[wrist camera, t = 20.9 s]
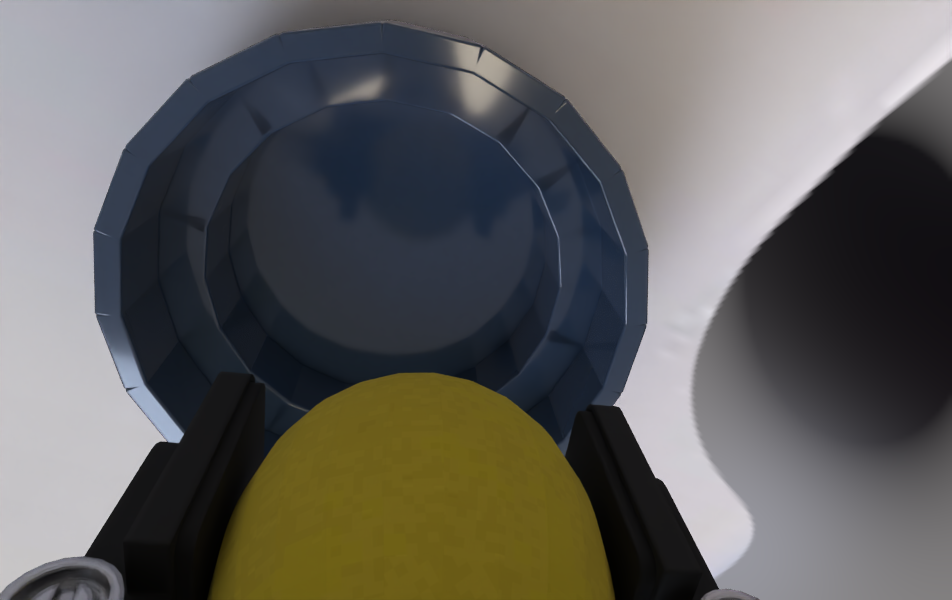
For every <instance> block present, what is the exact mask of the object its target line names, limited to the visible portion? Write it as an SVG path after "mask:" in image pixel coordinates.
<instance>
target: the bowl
mask: <svg viewBox="0 0 952 600" xmlns="http://www.w3.org/2000/svg"><path fill="white" fill-rule="evenodd" d="M94 230H95V231H94V232H93V242H94V286H95V313H96V314H97V315H96V316H97V320H98V322H99V325H100V327H101V330H102V333H103V335H104V338H105V340H106V343H107V345H108V348H109V350H110V353H111V356H112V358H113V361H114V363H115V366H116V368H117V371H118V373H119V376H120V379H121V381H122V384H123V386H124V388H125V389H126V392H127V393H128V394H129V395H130V397H131V398H132V399H133V400H134V402H135V403H136V404H137V405H138V406H139V408H140V409H141V410H142V411H143V413H144V414H145V415H146V416H147V417H148V419H149V420H150V421H151V422H152V424H153V425H154V426H155V427H156V428H157V430H158V431H159V432H160V433H161V435H162V436H163V437H164V438H165V439H166V441H167V442H173V443H179V442H180V440H181V438H182V437H183V435H184V433H185V431H186V430H187V428H188V426H189V424H190V423H191V421H192V419H193V417H194V416H195V414H196V412H197V410H198V409H199V407H200V405H201V404H202V402H203V400H204V398H205V397H206V395H207V393H208V391H209V390H210V388H211V386H212V384H213V383H214V381H215V379H216V377H217V376H218V374H219V373H220V372H222V371H223V372H234V373H245V374H253V375H254V377H255V383H264V384H265V431H264V459H265V458H266V456H267V455H268V453H269V452H270V450H271V449H272V447H273V446H274V445H275V443H276V442H277V441H278V440H279V438H280V437H281V436H282V435H283V434H284V433H285V432H286V431H287V430H288V429H289V428H290V427H292V426H293V425H294V424H295V423H296V422H297V421H299V420H300V419H301V418H302V417H303V416H305V415H306V414H307V413H308V412H309V411H310V410H312V409H313V408H314V407H315V406H316V405H318V404H319V403H320V402H322V401H323V400H325V399H326V398H328V397H331V396H333V395H335V394H337V393H339V392H341V391H343V390H345V389H347V388H349V387H351V386H353V385H355V384H357V383H360V382H363V381H367V380H371V379H376V378H380V377H384V376H388V375H393V374H397V373H438V374H443V375H448V376H452V377H457V378H462V379H466V380H470V381H473V382H475V383H477V384H480V385H482V386H484V387H486V388H488V389H490V390H492V391H494V392H496V393H499V394H501V395H503V396H505V397H507V398H508V399H509V400H511V401H512V402H513V403H515V404H516V405H517V406H518V407H519V408H521V409H522V410H523V411H524V412H525V413H527V414H528V415H529V416H530V417H531V418H533V419H534V420H535V421H536V422H537V423H539V424H540V425H541V426H542V427H543V428H544V429H545V430H546V431H547V433H548V434H549V435H550V436H551V437H552V439H553V440H554V442H555V443H556V445H557V446H558V448H559V449H560V451H561V452H562V454H563V455H564V457H565V454H566V451H567V447H568V443H569V439H570V435H571V431H572V427H573V423H574V419H575V416H576V414H577V412H578V411H585V410H586V408H587V406H588V405H590V404H594V405H605V406H613V405H614V403H615V402H616V401H617V399H618V398H619V397H620V395H621V393H622V392H623V390H624V387H625V384H626V381H627V379H628V376H629V373H630V370H631V368H632V365H633V362H634V359H635V357H636V354H637V351H638V348H639V346H640V343H641V340H642V337H643V335H644V332H645V329H646V324H647V306H648V255H649V250H648V244H647V241H646V238H645V235H644V232H643V229H642V226H641V223H640V220H639V217H638V214H637V211H636V208H635V205H634V202H633V199H632V196H631V193H630V190H629V187H628V184H627V181H626V178H625V175H624V172H623V171H622V170H621V167H620V165H619V164H618V163H617V161H616V160H615V159H614V157H613V156H612V155H611V154H610V152H609V151H608V150H607V149H606V147H605V146H604V145H603V144H602V142H601V141H600V140H599V138H598V137H597V136H596V135H595V133H594V132H593V131H592V130H591V128H590V127H589V126H588V124H587V123H586V122H585V121H584V119H583V118H582V117H581V116H580V114H579V113H578V112H577V111H576V109H575V108H574V107H573V105H572V104H571V103H570V102H569V100H567V99H565V97H564V96H563V95H561V94H560V93H558V92H557V91H555V90H554V89H552V88H550V87H549V86H547V85H546V84H544V83H542V82H541V81H539V80H538V79H536V78H535V77H533V76H531V75H530V74H528V73H527V72H525V71H524V70H522V69H520V68H519V67H517V66H516V65H514V64H513V63H511V62H509V61H508V60H506V59H505V58H503V57H501V56H500V55H498V54H497V53H495V52H494V51H492V50H490V49H489V48H487V47H486V46H484V45H482V44H480V43H478V42H476V41H474V40H472V39H469V38H467V37H465V36H460V35H456V34H452V33H448V32H443V31H439V30H435V29H431V28H426V27H422V26H418V25H414V24H410V23H405V22H401V21H397V20H381V21H372V22H363V23H353V24H344V25H335V26H325V27H316V28H309V29H301V30H294V31H287V32H282V33H280V34H275V35H273V36H271V37H269V38H267V39H265V40H263V41H261V42H259V43H257V44H254V45H252V46H250V47H248V48H246V49H244V50H242V51H240V52H238V53H236V54H234V55H232V56H230V57H228V58H226V59H224V60H222V61H220V62H218V63H216V64H214V65H212V66H210V67H208V68H206V69H204V70H202V71H200V72H198V73H196V74H194V75H192V76H191V77H190V78H189V79H186V80H185V81H184V82H183V83H182V84H181V86H180V87H179V88H178V89H177V90H176V91H175V92H174V93H173V94H172V95H171V96H170V98H169V99H168V100H167V101H166V102H165V103H164V104H163V105H162V106H161V107H160V109H159V110H158V111H157V112H156V113H155V114H154V115H153V116H152V117H151V118H150V119H149V121H148V122H147V123H146V124H145V125H144V126H143V127H142V128H141V129H140V130H139V132H138V133H137V134H136V135H135V136H134V137H133V138H132V139H131V140H130V141H129V142H128V144H127V145H126V147H125V149H124V150H123V152H122V154H121V157H120V160H119V163H118V165H117V168H116V171H115V173H114V176H113V179H112V181H111V184H110V187H109V189H108V192H107V195H106V198H105V200H104V203H103V206H102V208H101V211H100V214H99V216H98V219H97V222H96V224H95V227H94Z"/></svg>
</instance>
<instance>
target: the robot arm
mask: <svg viewBox="0 0 952 600" xmlns="http://www.w3.org/2000/svg"><path fill="white" fill-rule="evenodd" d="M264 431H265V384H264V383H255V377H254V375H253V374H245V373H234V372H223V371H222V372H220V373H219V374H218V376H217V377H216V379H215V381H214V383H213V384H212V386H211V388H210V390H209V391H208V393H207V395H206V397H205V398H204V400H203V402H202V404H201V405H200V407H199V409H198V410H197V412H196V414H195V416H194V417H193V419H192V421H191V423H190V424H189V426H188V428H187V430H186V431H185V433H184V435H183V437H182V438H181V440H180V442H179V443H173V442H159V443H156V444H155V446H154V447H153V448H152V449H151V451H150V453H149V454H148V456H147V457H146V459H145V461H144V462H143V464H142V465H141V467H140V469H139V470H138V472H137V473H136V475H135V476H134V478H133V480H132V481H131V483H130V484H129V486H128V488H127V489H126V491H125V492H124V494H123V496H122V497H121V499H120V500H119V502H118V504H117V505H116V507H115V508H114V510H113V512H112V513H111V515H110V516H109V518H108V520H107V521H106V523H105V524H104V526H103V527H102V529H101V531H100V532H99V534H98V535H97V537H96V539H95V540H94V542H93V543H92V545H91V547H90V548H89V550H88V551H87V553H86V555H85V556H83V557H71V558H63V559H60V560H56V561H52V562H49V563H45V564H43V565H41V566H39V567H37V568H35V569H32V570H30V571H28V572H26V573H24V574H23V575H22V576H20V577H19V578H17V579H16V580H15V581H13V582H12V583H10V584H9V585H8V586H7V587H6V588H5V589H4V590H3V591H2V592H1V593H0V600H207V597H208V593H209V588H210V584H211V580H212V577H213V573H214V569H215V566H216V562H217V558H218V555H219V551H220V547H221V544H222V541H223V538H224V534H225V531H226V528H227V525H228V522H229V520H230V518H231V515H232V513H233V511H234V508H235V506H236V504H237V502H238V500H239V499H240V497H241V495H242V493H243V491H244V489H245V488H246V486H247V485H248V483H249V482H250V480H251V479H252V477H253V476H254V474H255V473H256V471H257V470H258V468H259V467H260V465H261V464H262V462H263V461H264ZM565 458H566V460H567V461H568V463H569V464H570V466H571V467H572V469H573V471H574V472H575V474H576V475H577V477H578V478H579V480H580V481H581V483H582V485H583V487H584V489H585V491H586V493H587V495H588V497H589V500H590V502H591V505H592V508H593V510H594V513H595V516H596V519H597V523H598V527H599V530H600V534H601V538H602V541H603V545H604V549H605V553H606V556H607V560H608V564H609V568H610V572H611V577H612V583H613V588H614V593H615V600H759V599H758V598H755V597H753V596H751V595H749V594H746V593H744V592H741V591H736V590H731V589H719V588H718V586H717V584H716V582H715V580H714V578H713V577H712V575H711V573H710V571H709V569H708V567H707V565H706V563H705V561H704V559H703V557H702V555H701V553H700V551H699V549H698V547H697V546H696V544H695V542H694V540H693V538H692V536H691V534H690V532H689V530H688V528H687V526H686V524H685V522H684V520H683V518H682V516H681V515H680V513H679V511H678V509H677V507H676V505H675V503H674V501H673V499H672V497H671V495H670V493H669V491H668V489H667V487H666V486H665V484H664V483H663V482H662V481H661V480H659V479H658V478H655V476H654V474H653V472H652V470H651V468H650V466H649V464H648V462H647V460H646V458H645V456H644V454H643V453H642V451H641V449H640V447H639V445H638V443H637V441H636V439H635V437H634V435H633V433H632V431H631V429H630V427H629V425H628V423H627V421H626V419H625V417H624V415H623V413H622V411H621V409H620V408H619V407H616V406H605V405H594V404H590V405H588V406H587V408H586V410H585V411H578V412H577V414H576V416H575V419H574V423H573V427H572V431H571V435H570V439H569V443H568V447H567V451H566V454H565Z"/></svg>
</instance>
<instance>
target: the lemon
mask: <svg viewBox="0 0 952 600" xmlns="http://www.w3.org/2000/svg"><path fill="white" fill-rule="evenodd" d="M207 600H615V593H614V588H613V583H612V577H611V572H610V568H609V564H608V560H607V556H606V553H605V549H604V545H603V541H602V538H601V534H600V530H599V527H598V523H597V519H596V516H595V513H594V510H593V508H592V505H591V502H590V500H589V497H588V495H587V493H586V491H585V489H584V487H583V485H582V483H581V481H580V480H579V478H578V477H577V475H576V474H575V472H574V471H573V469H572V467H571V466H570V464H569V463H568V461H567V460H566V458H565V457H564V455H563V454H562V452H561V451H560V449H559V448H558V446H557V445H556V443H555V442H554V440H553V439H552V437H551V436H550V435H549V434H548V433H547V431H546V430H545V429H544V428H543V427H542V426H541V425H540V424H539V423H537V422H536V421H535V420H534V419H533V418H531V417H530V416H529V415H528V414H527V413H525V412H524V411H523V410H522V409H521V408H519V407H518V406H517V405H516V404H515V403H513V402H512V401H511V400H509V399H508V398H507V397H505V396H503V395H501V394H499V393H496V392H494V391H492V390H490V389H488V388H486V387H484V386H482V385H480V384H477V383H475V382H473V381H470V380H466V379H462V378H457V377H452V376H448V375H443V374H438V373H397V374H393V375H388V376H384V377H380V378H376V379H371V380H367V381H363V382H360V383H357V384H355V385H353V386H351V387H349V388H347V389H345V390H343V391H341V392H339V393H337V394H335V395H333V396H331V397H328V398H326V399H325V400H323V401H322V402H320V403H319V404H318V405H316V406H315V407H314V408H313V409H312V410H310V411H309V412H308V413H307V414H306V415H305V416H303V417H302V418H301V419H300V420H299V421H297V422H296V423H295V424H294V425H293V426H292V427H290V428H289V429H288V430H287V431H286V432H285V433H284V434H283V435H282V436H281V437H280V438H279V440H278V441H277V442H276V443H275V445H274V446H273V447H272V449H271V450H270V452H269V453H268V455H267V456H266V458H265V459H264V461H263V462H262V464H261V465H260V467H259V468H258V470H257V471H256V473H255V474H254V476H253V477H252V479H251V480H250V482H249V483H248V485H247V486H246V488H245V489H244V491H243V493H242V495H241V497H240V499H239V500H238V502H237V504H236V506H235V508H234V511H233V513H232V515H231V518H230V520H229V522H228V525H227V528H226V531H225V534H224V538H223V541H222V544H221V547H220V551H219V555H218V558H217V562H216V566H215V569H214V573H213V577H212V580H211V584H210V588H209V593H208V597H207Z"/></svg>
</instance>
